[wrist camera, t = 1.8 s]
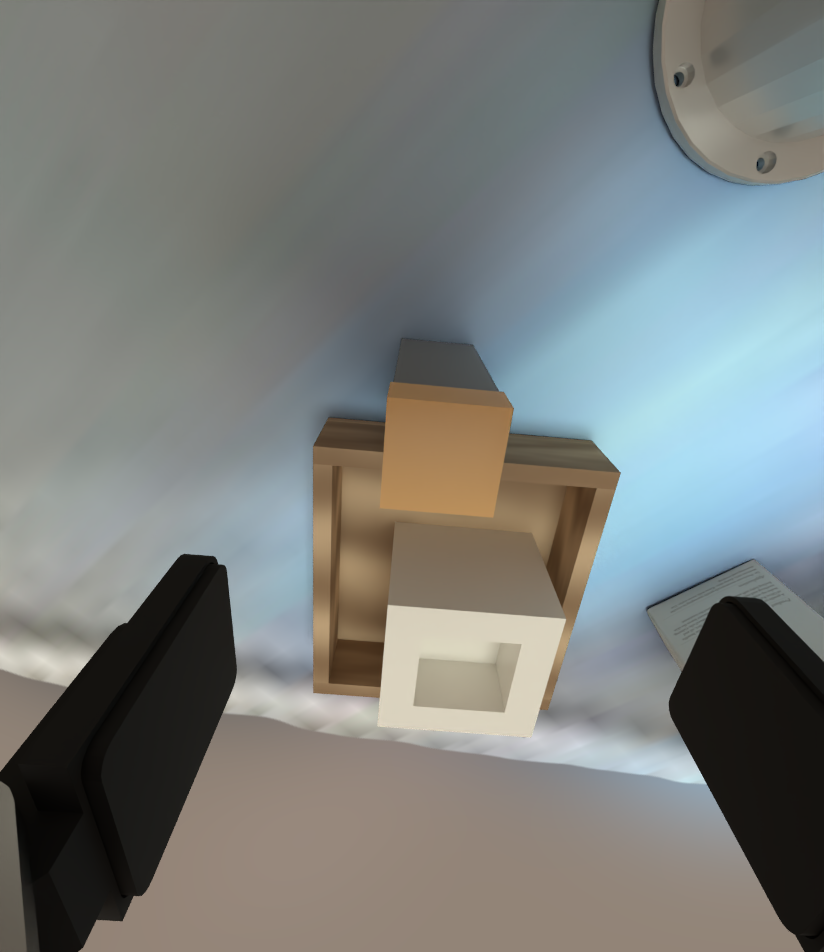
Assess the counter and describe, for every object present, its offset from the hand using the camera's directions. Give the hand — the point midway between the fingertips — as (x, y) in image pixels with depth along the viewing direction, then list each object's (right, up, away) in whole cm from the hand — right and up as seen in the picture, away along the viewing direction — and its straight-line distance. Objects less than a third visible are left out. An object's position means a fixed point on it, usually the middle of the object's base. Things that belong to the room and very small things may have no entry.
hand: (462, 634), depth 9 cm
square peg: (0, +9, +18) cm, 20 cm away
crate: (+1, -2, +23) cm, 23 cm away
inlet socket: (+2, -4, +24) cm, 24 cm away
